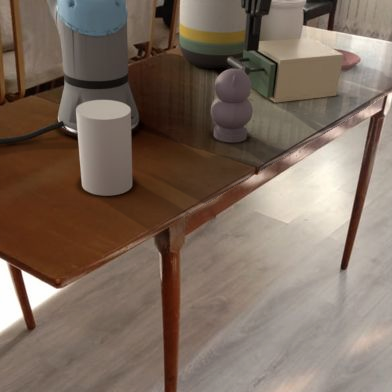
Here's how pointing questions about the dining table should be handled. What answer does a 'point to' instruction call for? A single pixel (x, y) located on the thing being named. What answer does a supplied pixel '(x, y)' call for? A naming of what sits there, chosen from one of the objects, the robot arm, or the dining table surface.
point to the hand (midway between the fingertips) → (251, 49)
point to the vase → (212, 31)
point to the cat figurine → (232, 105)
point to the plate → (348, 60)
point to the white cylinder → (105, 146)
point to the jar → (283, 20)
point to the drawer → (258, 71)
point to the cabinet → (303, 68)
